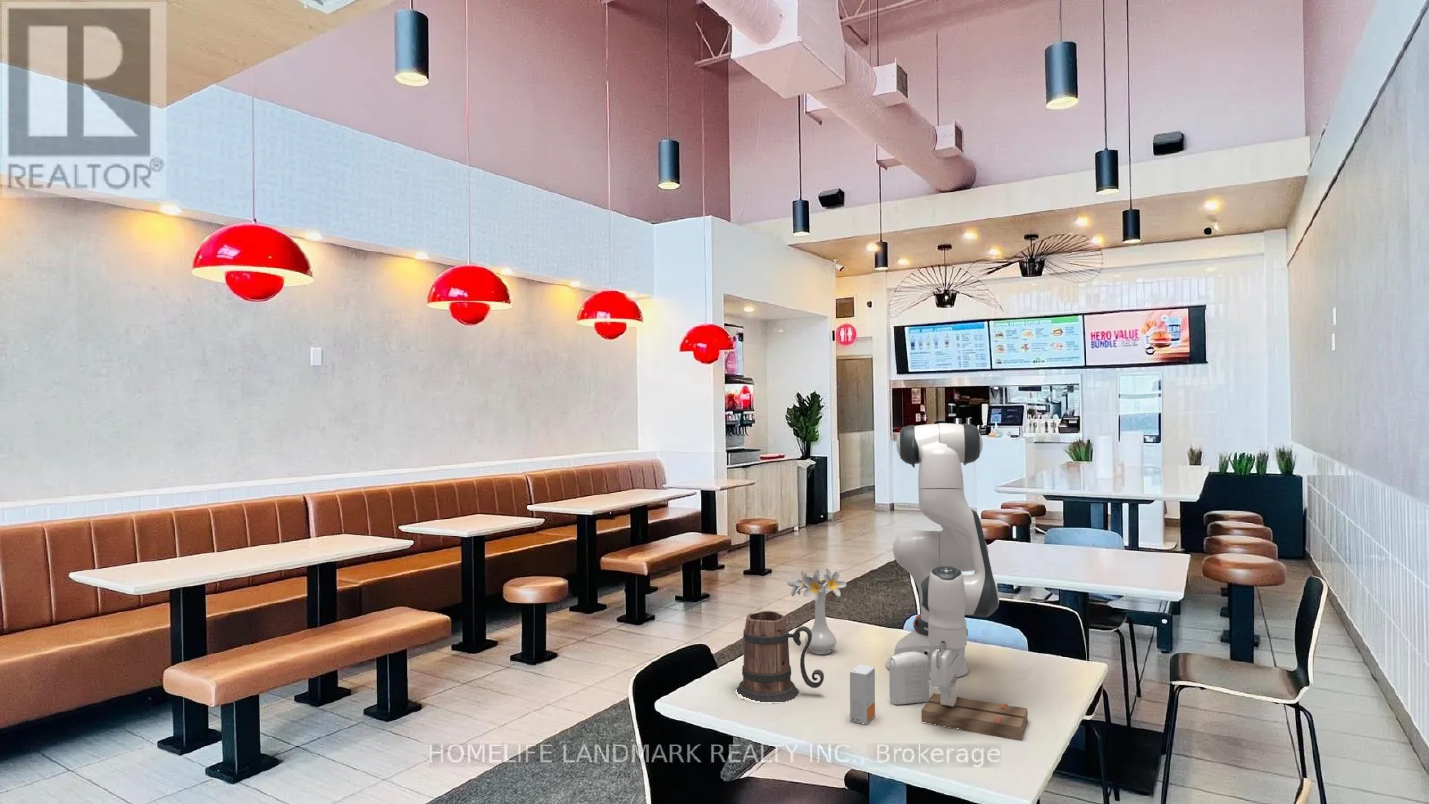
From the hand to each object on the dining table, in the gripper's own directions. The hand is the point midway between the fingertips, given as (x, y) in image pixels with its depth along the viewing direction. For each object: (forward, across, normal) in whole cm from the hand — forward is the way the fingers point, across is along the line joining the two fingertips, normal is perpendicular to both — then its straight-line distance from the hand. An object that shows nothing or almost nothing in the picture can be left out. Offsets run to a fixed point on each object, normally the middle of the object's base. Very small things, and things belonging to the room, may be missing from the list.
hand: (948, 694), depth 190 cm
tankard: (+6, -3, +43) cm, 44 cm away
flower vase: (+6, +33, +46) cm, 57 cm away
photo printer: (+6, +6, +11) cm, 14 cm away
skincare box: (+6, -10, +18) cm, 21 cm away
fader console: (+6, 0, -6) cm, 8 cm away
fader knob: (+4, 0, 0) cm, 4 cm away
